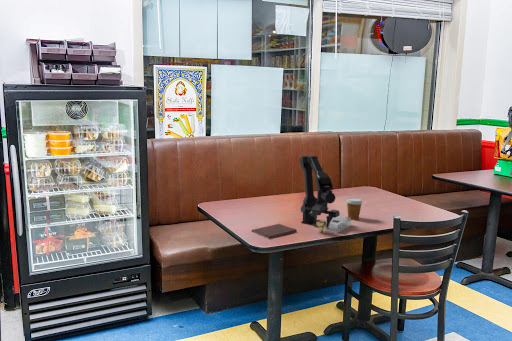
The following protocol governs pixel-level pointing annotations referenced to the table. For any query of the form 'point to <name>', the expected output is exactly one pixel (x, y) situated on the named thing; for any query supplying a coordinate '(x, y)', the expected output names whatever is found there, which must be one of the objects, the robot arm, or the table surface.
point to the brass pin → (321, 225)
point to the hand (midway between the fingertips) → (321, 226)
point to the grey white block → (338, 224)
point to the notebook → (274, 231)
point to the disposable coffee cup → (354, 208)
